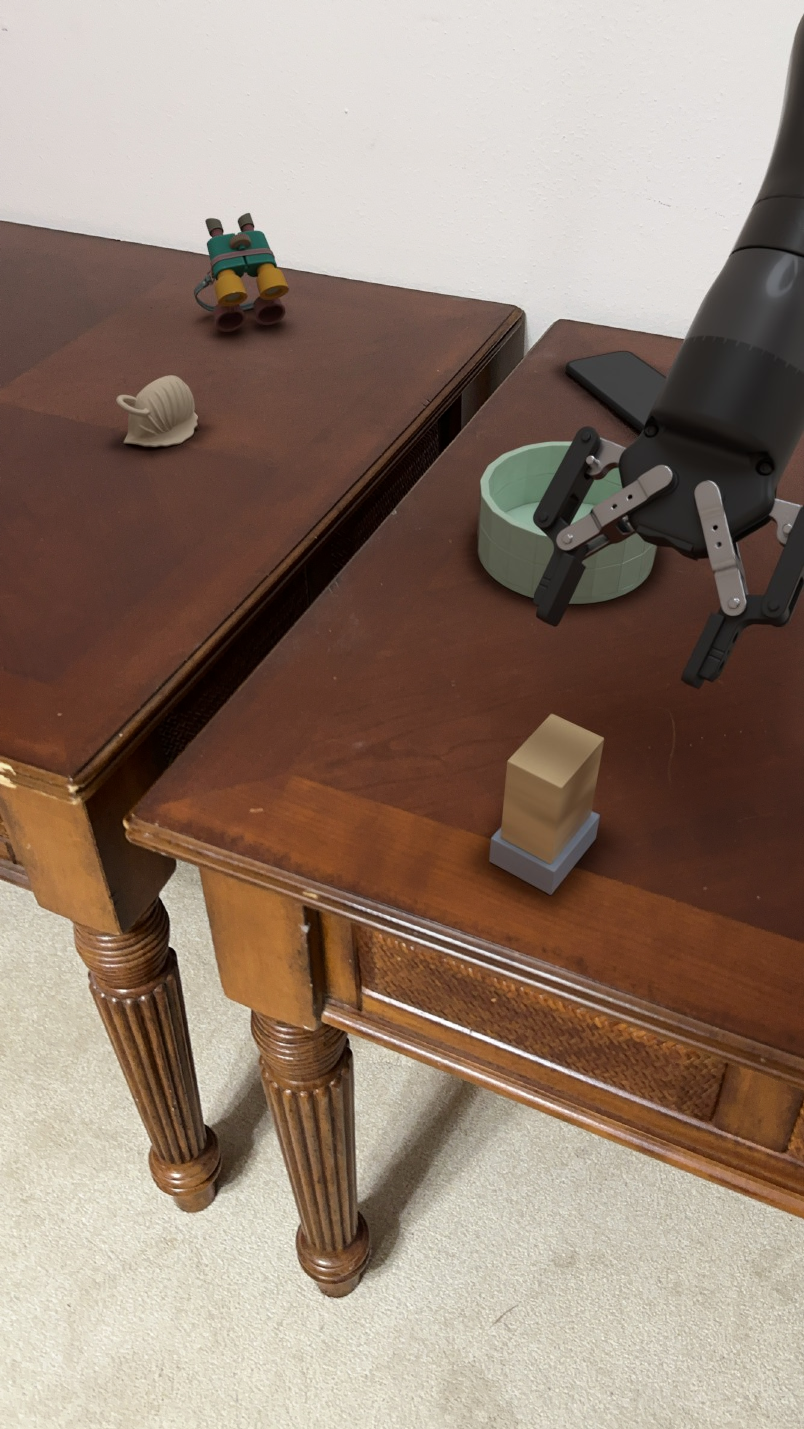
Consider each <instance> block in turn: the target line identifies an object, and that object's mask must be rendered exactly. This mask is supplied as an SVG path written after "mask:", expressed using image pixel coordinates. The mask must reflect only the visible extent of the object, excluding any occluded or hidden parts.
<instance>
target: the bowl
mask: <svg viewBox="0 0 804 1429" xmlns="http://www.w3.org/2000/svg"><path fill="white" fill-rule="evenodd" d="M571 443H572V441H544V442H537V443H532V444H526V445H523V446H521V447H518V448H517V447H516V448H515V449H512V450H510V451H507V452H505V453H502V454H501V455H500V456H499V457H497V458H496V459H494V460H493V461H492V462H491V463H489V464H488V465H487V466H486V469H485V470H484V472H483V474H482V475H481V478H480V481H479V494H478V495H479V496H478V515H477V533H476V534H477V535H476V537H477V539H476V540H477V545H476V546H477V548H476V549H477V556H478V558H479V561H480V563H481V565H482V566H483V568H484V569H485V571H486V572H487V573H488V574H489V576H490V577H492V578H493V579H494V580H495V581H496V582H498V583H499V584H500V585H501V586H504V587H506V588H507V589H509V590H510V591H513V592H515V593H517V594H520V595H521V596H525V597H529V598H531V599H534V593H535V591H536V589H537V586H538V585H539V582H540V580H541V578H542V576H543V574H544V572H545V569H546V567H547V565H548V563H549V561H550V559H551V557H552V554H553V551H554V545H553V542H552V540H551V539H550V538H549V537H548V536H547V535H546V534H545V533H544V532H543V531H542V530H540V529H539V528H538V527H537V526H536V525H535V524H534V522H533V515H534V512H535V510H536V509H537V507H538V505H539V503H540V501H541V499H542V497H543V495H544V494H545V492H546V490H547V488H548V486H549V484H550V482H551V480H552V479H553V477H554V475H555V473H556V471H557V469H558V467H559V465H560V464H561V462H562V460H563V458H564V456H565V454H566V452H567V451H568V449H569V447H570V445H571ZM620 490H622V485H621V479H620V474H619V468H614V469H612V470H611V471H609V472H608V474H607V475H606V476H605V477H604V478H603V479H600V480H594V482H593V484H592V486H591V487H590V489H589V491H588V493H587V495H586V497H585V499H584V500H583V502H582V504H581V506H580V508H579V510H578V512H577V513H576V515H575V517H574V519H573V521H572V523H571V524H573V523H575V522H576V521H578V520H580V519H581V518H583V517H584V516H586V515H588V514H589V513H590V511H591V509H592V508H593V507H594V506H596V505H597V504H599V503H600V502H602V501H604V500H605V499H607V498H609V497H610V496H612V495H613V494H615V493H617V492H618V491H620ZM616 508H617V507H616ZM628 524H629V523H628ZM657 550H658V546H655V545H653V544H650V543H647V542H645V541H643V539H642V538H641V537H640V536H639V535H638V534H637V533H635V534H634V535H632V536H630V537H628V538H627V539H625V540H623V541H622V542H620V543H617V544H611V545H609V546H607V547H605V548H604V549H602V550H600V551H599V552H597V553H595V554H594V555H592V556H590V557H588V558H587V559H585V560H583V561H582V564H583V565H585V566H586V568H585V571H584V573H583V575H582V577H581V579H580V581H579V583H578V585H577V587H576V590H575V592H574V594H573V596H572V598H571V600H570V602H569V604H568V605H583V604H595V603H600V602H606V601H609V600H612V599H616V598H619V597H621V596H624V595H626V594H628V593H630V592H632V591H634V590H635V589H636V588H638V587H639V586H641V585H642V584H643V582H645V580H647V579H648V577H649V575H650V574H651V572H652V569H653V567H654V563H655V558H656V555H657Z"/></svg>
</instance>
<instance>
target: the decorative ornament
mask: <svg viewBox="0 0 804 1429" xmlns="http://www.w3.org/2000/svg"><path fill="white" fill-rule="evenodd" d="M116 403H117V405H118V406H119V407H120V408H121V409H122V410H124V411H125V412H127V413H129V414H128V416H127V417H128V420H127V434H126V437H125V438H124V440H123V444H131V445H138V446H142V447H152V448H157V447H170V446H175V445H181V444H183V443H184V442H185V441H186V440H188V439H191V437H192V436H194V433H195V429H196V428H197V427H198V420H199V416H198V415H197V414H196V412H195V409H196V407H195V399H194V395H193V393H192V391H191V388H190V387H189V385H188V384H187V383H185V381H184V380H182V379H181V378H180V377H178V376H177V375H173V374H171V375H170V374H169V375H165V376H162V377H159V378H156V379H155V380H153V381H152V382H150V383H149V384H147V385H145V386H144V387H143V389H141V390H140V391H139V392H138V394H137V395H136V396H133V395H128V394H120V395H118V396H117V397H116ZM127 403H129V404H131V405H129V404H127Z"/></svg>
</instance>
